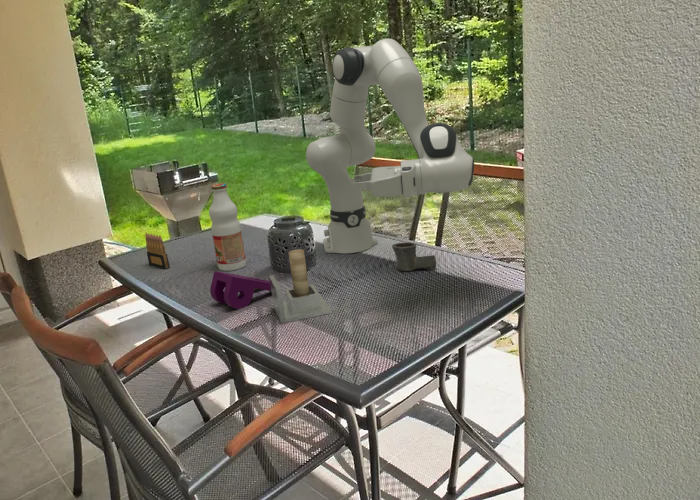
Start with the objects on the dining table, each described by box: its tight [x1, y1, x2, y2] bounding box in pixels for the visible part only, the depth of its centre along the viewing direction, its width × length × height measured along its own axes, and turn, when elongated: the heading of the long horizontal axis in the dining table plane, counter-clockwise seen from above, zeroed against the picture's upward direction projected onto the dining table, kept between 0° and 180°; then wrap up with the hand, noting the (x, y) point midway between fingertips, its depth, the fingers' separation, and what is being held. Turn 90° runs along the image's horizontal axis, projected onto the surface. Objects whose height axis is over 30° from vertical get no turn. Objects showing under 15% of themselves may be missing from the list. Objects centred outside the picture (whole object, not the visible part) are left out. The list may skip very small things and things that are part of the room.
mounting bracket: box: [209, 270, 271, 310], centre depth 170 cm, size 9×8×18 cm
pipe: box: [391, 242, 437, 272], centre depth 179 cm, size 6×13×8 cm, turn 78°
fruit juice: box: [208, 182, 247, 272], centre depth 197 cm, size 9×9×28 cm
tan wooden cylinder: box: [288, 248, 310, 297], centre depth 156 cm, size 4×4×15 cm
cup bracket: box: [268, 274, 333, 324], centre depth 157 cm, size 12×13×9 cm
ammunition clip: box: [144, 232, 171, 270], centre depth 208 cm, size 11×2×12 cm, turn 49°
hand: (353, 182), depth 150 cm, fingers open, 8 cm apart
